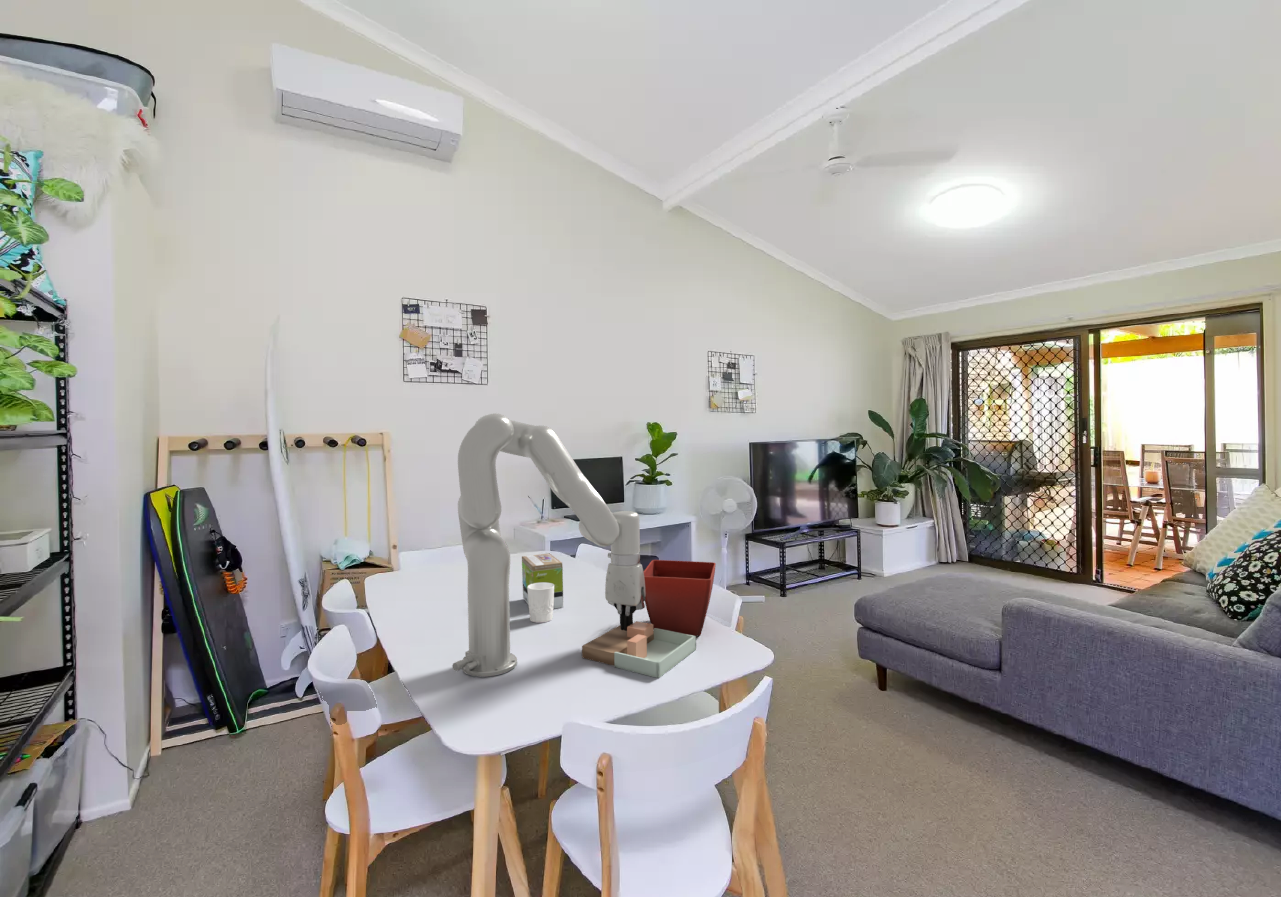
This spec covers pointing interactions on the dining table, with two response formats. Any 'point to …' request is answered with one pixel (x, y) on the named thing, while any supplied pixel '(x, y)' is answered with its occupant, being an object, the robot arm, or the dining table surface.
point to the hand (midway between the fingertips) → (626, 628)
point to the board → (608, 646)
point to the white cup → (541, 601)
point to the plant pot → (678, 594)
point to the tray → (659, 654)
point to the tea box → (543, 575)
